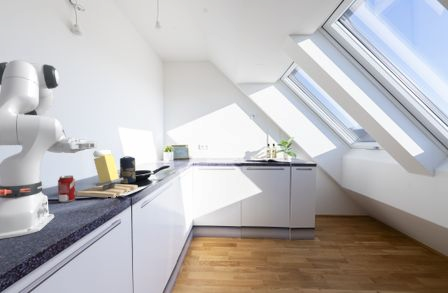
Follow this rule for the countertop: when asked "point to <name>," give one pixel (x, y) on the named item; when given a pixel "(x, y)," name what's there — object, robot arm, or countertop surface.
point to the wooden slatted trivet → (107, 190)
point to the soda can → (66, 189)
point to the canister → (127, 169)
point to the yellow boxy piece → (105, 167)
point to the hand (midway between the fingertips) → (92, 145)
